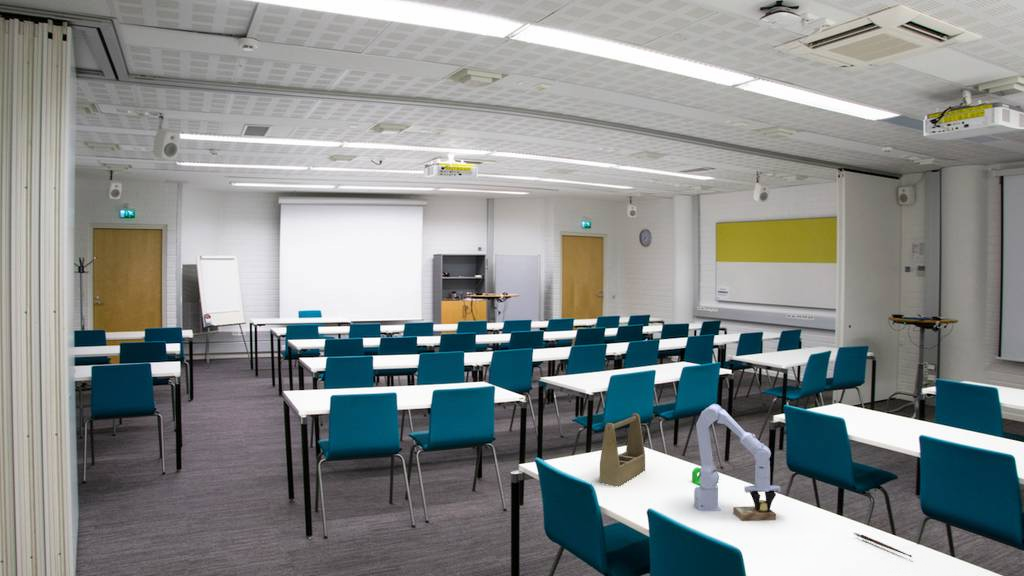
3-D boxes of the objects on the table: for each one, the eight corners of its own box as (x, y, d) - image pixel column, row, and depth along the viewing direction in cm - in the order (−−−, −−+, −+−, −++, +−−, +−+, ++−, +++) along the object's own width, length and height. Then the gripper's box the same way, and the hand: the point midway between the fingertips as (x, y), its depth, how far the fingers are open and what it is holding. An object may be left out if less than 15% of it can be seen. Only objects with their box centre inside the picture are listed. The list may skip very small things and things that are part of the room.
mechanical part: (700, 488, 311) (700, 471, 310) (692, 484, 316) (692, 468, 316) (720, 485, 315) (720, 468, 315) (712, 481, 321) (712, 465, 320)
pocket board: (742, 520, 268) (742, 514, 268) (733, 512, 277) (733, 506, 277) (775, 519, 269) (775, 513, 269) (765, 512, 278) (765, 505, 278)
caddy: (626, 470, 340) (626, 411, 340) (645, 473, 334) (645, 414, 333) (599, 484, 316) (599, 421, 316) (619, 488, 310) (619, 424, 310)
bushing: (759, 518, 271) (759, 503, 271) (755, 514, 275) (755, 500, 275) (769, 517, 272) (769, 503, 272) (764, 514, 276) (764, 499, 276)
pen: (851, 534, 253) (910, 557, 233) (852, 531, 253) (911, 554, 233) (853, 534, 254) (912, 557, 233) (854, 531, 254) (913, 554, 233)
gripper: (749, 479, 269) (749, 512, 269) (784, 478, 270) (784, 511, 270) (742, 474, 276) (742, 506, 276) (776, 473, 277) (776, 506, 277)
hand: (762, 509), depth 274 cm, fingers closed on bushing, 4 cm apart
